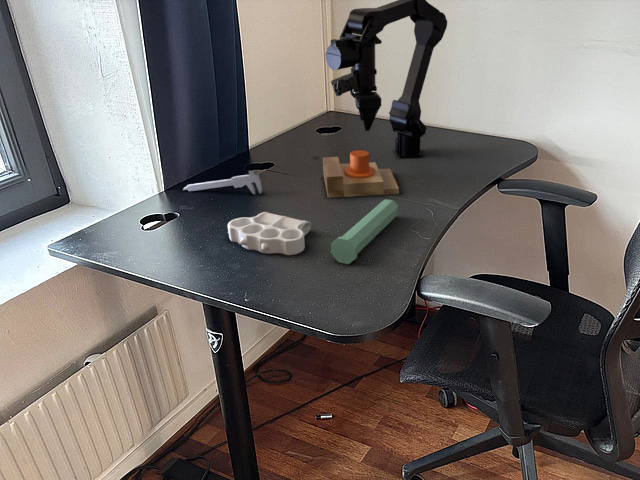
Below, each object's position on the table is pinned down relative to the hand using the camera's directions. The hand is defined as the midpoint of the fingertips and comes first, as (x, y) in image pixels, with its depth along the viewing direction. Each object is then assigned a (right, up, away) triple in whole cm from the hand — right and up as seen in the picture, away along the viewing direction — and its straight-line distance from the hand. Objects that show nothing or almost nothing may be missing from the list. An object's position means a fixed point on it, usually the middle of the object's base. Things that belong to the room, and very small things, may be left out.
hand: (365, 125), depth 164 cm
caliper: (-35, -20, -9) cm, 41 cm away
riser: (-1, -17, -4) cm, 17 cm away
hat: (-1, -14, -6) cm, 15 cm away
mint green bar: (+3, -33, -29) cm, 44 cm away
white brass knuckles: (-19, -34, -31) cm, 49 cm away
